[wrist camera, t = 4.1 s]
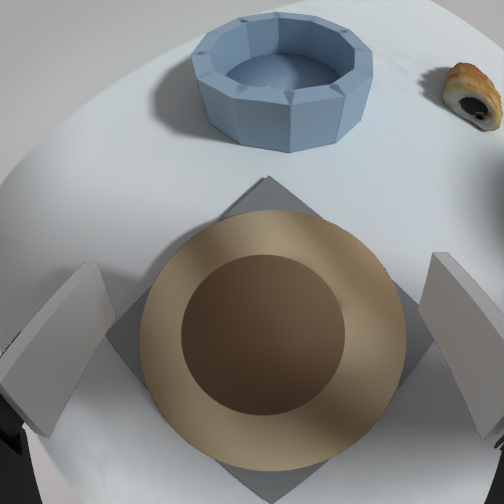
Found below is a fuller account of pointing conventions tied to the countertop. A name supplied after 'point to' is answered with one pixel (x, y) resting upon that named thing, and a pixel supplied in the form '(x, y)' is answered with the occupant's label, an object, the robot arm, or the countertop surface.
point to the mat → (128, 326)
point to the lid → (272, 340)
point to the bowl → (283, 80)
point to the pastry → (473, 96)
